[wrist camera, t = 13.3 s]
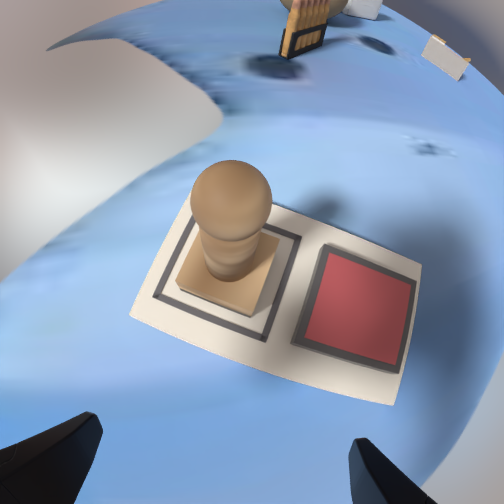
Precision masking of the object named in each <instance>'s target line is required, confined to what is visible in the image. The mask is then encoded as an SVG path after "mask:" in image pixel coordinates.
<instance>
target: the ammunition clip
mask: <svg viewBox="0 0 504 504" xmlns="http://www.w3.org/2000/svg"><path fill="white" fill-rule="evenodd" d="M330 1H331V0H293V3H292V7H291V11H290V13H289V16H288V21H287V26H286V28H285V29H284V30H283V35H282V40H281V45H280V50H279V55H280V56H282V57H284V58H286V59H291V58H293V57H295V56H298V55H300V54H302V53H305V52H307V51H309V50H312V49H314V48H317V47H320V46H322V43H323V39H324V35H325V31H326V28H327V23H326V21H327V17H328V13H329V6H330Z"/></svg>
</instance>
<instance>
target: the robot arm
mask: <svg viewBox="0 0 504 504" xmlns="http://www.w3.org/2000/svg"><path fill="white" fill-rule="evenodd" d="M102 434H103V428H102V426H101V424H100V421H99V419H98V417H97V415H96V414H94V413H91V412H84V413H82V414H80V415H78V416H76V417H74V418H72V419H69V420H67V421H65V422H63V423H61V424H59V425H57V426H55V427H52V428H50V429H48V430H46V431H44V432H42V433H39V434H37V435H35V436H33V437H30V438H28V439H26V440H23V441H21V442H19V443H17V444H14V445H11V446H9V447H6V448H4V449H1V450H0V504H74V502H75V500H76V498H77V496H78V493H79V491H80V489H81V487H82V485H83V483H84V480H85V478H86V476H87V474H88V472H89V470H90V468H91V465H92V463H93V460H94V458H95V455H96V452H97V449H98V446H99V443H100V440H101V437H102ZM349 471H350V485H351V496H352V501H353V504H437V503H436V502H435V501H434V500H433V499H431V498H430V497H429V496H427V494H426V493H425V492H423V491H422V490H421V489H420V488H419V487H418V486H417V485H416V484H415V483H414V482H412V481H411V480H410V479H409V478H408V477H407V476H406V475H405V474H404V473H403V472H402V471H401V470H400V469H398V468H397V467H396V466H395V465H394V464H393V463H392V462H391V461H390V460H389V459H388V458H387V457H386V456H385V455H384V454H383V453H382V452H381V451H380V450H379V449H378V448H377V447H376V446H375V445H374V444H373V443H371V442H370V441H369V440H368V439H367V438H357V439H355V440H354V441H353V443H352V446H351V449H350V452H349Z"/></svg>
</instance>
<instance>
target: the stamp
mask: <svg viewBox="0 0 504 504" xmlns="http://www.w3.org/2000/svg"><path fill="white" fill-rule="evenodd" d="M190 206H191V211H192V214H193V217H194V219H195V221H196V223H197V224H198V225H199V231H198V234H197V236H196V238H195V240H194V242H193V244H192V246H191V248H190V250H189V252H188V254H187V256H186V258H185V260H184V263H183V265H182V267H181V269H180V271H179V273H178V275H177V277H176V280H175V282H176V283H177V285H178V287H179V288H180V290H181V291H183V292H186V293H188V294H190V295H193V296H195V297H198V298H200V299H203V300H205V301H207V302H210V303H212V304H215V305H217V306H220V307H222V308H225V309H228V310H230V311H233V312H235V313H238V314H241V315H243V316H246V317H248V318H250V317H251V315H252V313H253V311H254V309H255V306H256V303H257V301H258V298H259V295H260V293H261V290H262V287H263V285H264V282H265V279H266V277H267V274H268V271H269V268H270V266H271V263H272V260H273V258H274V255H275V252H276V249H277V247H278V244H279V241H280V239H279V238H276V237H274V236H271V235H268V234H266V233H263V232H261V229H262V227H263V226H264V224H265V223H266V222H267V220H268V218H269V215H270V212H271V208H272V193H271V189H270V186H269V184H268V182H267V180H266V178H265V177H264V176H263V174H262V173H261V172H260V171H259V170H258V169H256V168H255V167H253V166H252V165H250V164H248V163H245V162H242V161H237V160H226V161H221V162H218V163H215V164H213V165H211V166H210V167H208V168H207V169H205V170H204V171H203V172H202V173H201V174H200V175H199V177H198V178H197V179H196V181H195V183H194V185H193V188H192V191H191V197H190Z"/></svg>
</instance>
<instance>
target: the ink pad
mask: <svg viewBox="0 0 504 504" xmlns="http://www.w3.org/2000/svg"><path fill="white" fill-rule="evenodd" d="M416 284H417V281H416V280H413V279H411V278H408V277H406V276H404V275H401V274H399V273H396V272H394V271H392V270H389V269H387V268H384V267H382V266H380V265H377V264H375V263H372V262H370V261H367V260H365V259H362V258H360V257H357V256H355V255H352V254H350V253H347V252H345V251H342V250H340V249H337V248H335V247H332V246H329V245H327V244H323V245H322V247H321V248H320V249H319V253H318V256H317V260H316V263H315V267H314V270H313V274H312V277H311V280H310V283H309V287H308V290H307V293H306V296H305V300H304V303H303V306H302V309H301V312H300V315H299V318H298V321H297V324H296V327H295V330H294V333H293V336H292V339H291V342H290V344H291V345H294V346H297V347H300V348H303V349H306V350H310V351H313V352H316V353H319V354H322V355H325V356H329V357H332V358H335V359H338V360H342V361H345V362H349V363H352V364H355V365H359V366H363V367H366V368H370V369H373V370H377V371H381V372H385V373H389V374H399V372H400V368H401V364H402V360H403V356H404V351H405V347H406V342H407V338H408V333H409V328H410V322H411V317H412V311H413V305H414V298H415V292H416Z"/></svg>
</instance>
